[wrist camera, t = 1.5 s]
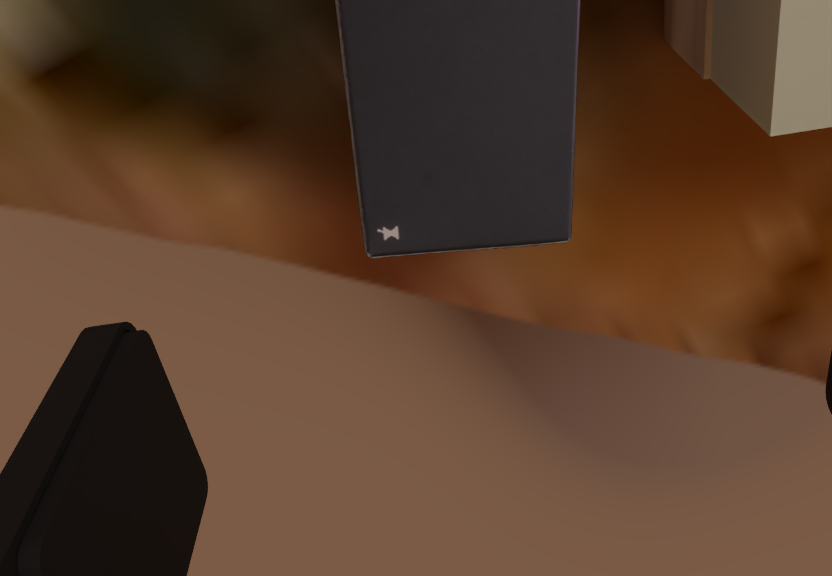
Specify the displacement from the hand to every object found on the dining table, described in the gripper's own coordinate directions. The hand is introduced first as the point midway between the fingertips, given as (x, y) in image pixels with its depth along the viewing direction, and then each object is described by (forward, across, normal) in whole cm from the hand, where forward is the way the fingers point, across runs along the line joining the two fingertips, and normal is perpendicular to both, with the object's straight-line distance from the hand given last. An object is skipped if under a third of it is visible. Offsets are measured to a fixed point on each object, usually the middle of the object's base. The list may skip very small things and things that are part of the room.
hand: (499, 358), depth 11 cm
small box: (+22, 0, 0) cm, 22 cm away
